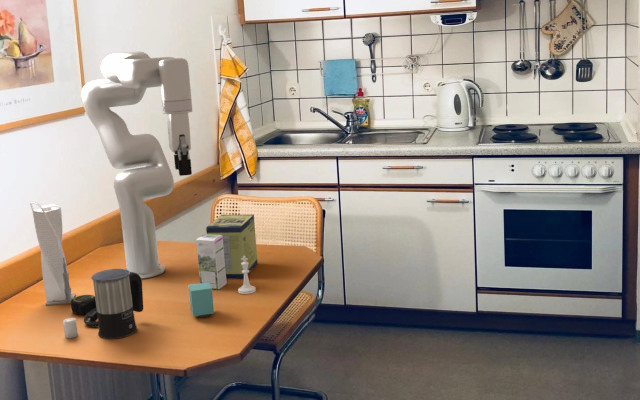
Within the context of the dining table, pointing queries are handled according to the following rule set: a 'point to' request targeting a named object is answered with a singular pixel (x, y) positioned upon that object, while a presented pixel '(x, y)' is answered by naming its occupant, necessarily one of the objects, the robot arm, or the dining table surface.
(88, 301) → the tape measure
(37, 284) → the dining table surface
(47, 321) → the dining table surface
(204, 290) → the teal rectangular block
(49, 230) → the skyscraper
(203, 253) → the syrup box
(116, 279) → the milk frother
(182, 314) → the dining table surface
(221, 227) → the protein box
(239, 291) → the chess piece
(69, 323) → the short round post
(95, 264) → the dining table surface
